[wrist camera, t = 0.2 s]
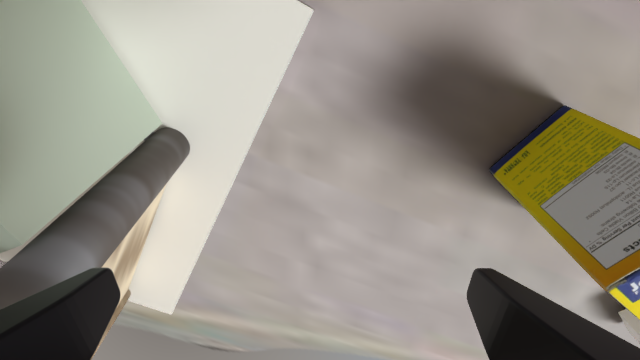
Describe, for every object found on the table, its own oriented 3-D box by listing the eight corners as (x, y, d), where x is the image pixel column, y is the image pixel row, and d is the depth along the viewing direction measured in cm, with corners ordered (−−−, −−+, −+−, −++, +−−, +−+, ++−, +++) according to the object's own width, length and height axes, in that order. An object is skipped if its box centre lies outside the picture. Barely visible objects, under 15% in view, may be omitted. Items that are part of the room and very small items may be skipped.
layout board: (-156, -267, 14) (-174, -277, 13) (314, 9, 18) (313, 10, 18) (-110, 218, 25) (-119, 223, 24) (173, 309, 30) (171, 315, 29)
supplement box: (536, 213, 25) (669, 351, 16) (485, 168, 23) (602, 293, 14) (613, 157, 23) (823, 277, 13) (564, 101, 21) (768, 195, 12)
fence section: (160, 118, 21) (-18, 264, 10) (197, 134, 22) (69, 291, 11) (107, 285, 28) (-33, 483, 17) (136, 294, 29) (20, 492, 18)
